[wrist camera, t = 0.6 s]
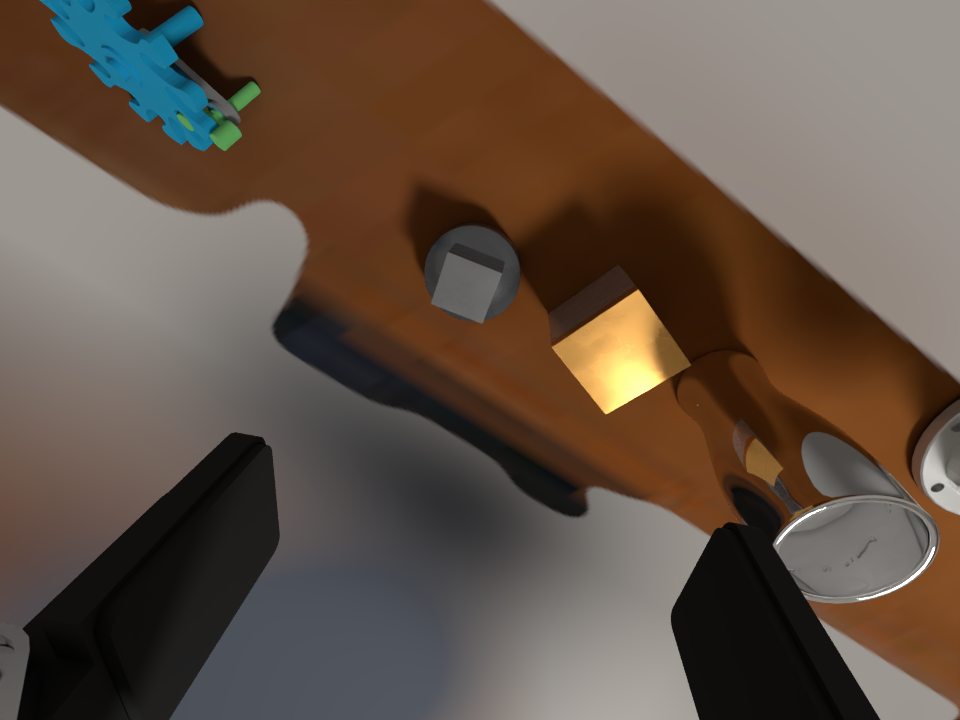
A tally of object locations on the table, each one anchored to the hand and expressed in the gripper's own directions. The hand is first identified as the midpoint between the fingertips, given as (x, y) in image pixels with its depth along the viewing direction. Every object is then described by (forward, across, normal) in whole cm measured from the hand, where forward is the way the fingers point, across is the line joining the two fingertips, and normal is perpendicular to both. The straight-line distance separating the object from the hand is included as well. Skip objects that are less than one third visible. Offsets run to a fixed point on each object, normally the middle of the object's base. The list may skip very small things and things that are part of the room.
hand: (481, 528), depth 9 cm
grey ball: (+23, +3, +1) cm, 24 cm away
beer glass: (+23, -17, +6) cm, 29 cm away
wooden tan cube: (+23, -7, +3) cm, 24 cm away
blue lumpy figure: (+24, +22, -8) cm, 33 cm away
